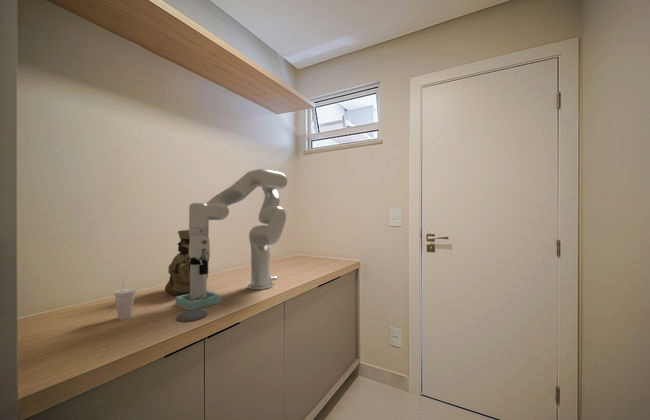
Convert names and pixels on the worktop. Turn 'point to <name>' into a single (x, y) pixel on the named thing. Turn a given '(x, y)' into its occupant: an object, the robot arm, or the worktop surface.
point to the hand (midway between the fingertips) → (198, 272)
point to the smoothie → (124, 302)
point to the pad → (191, 315)
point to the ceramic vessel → (180, 268)
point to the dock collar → (198, 301)
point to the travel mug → (197, 281)
